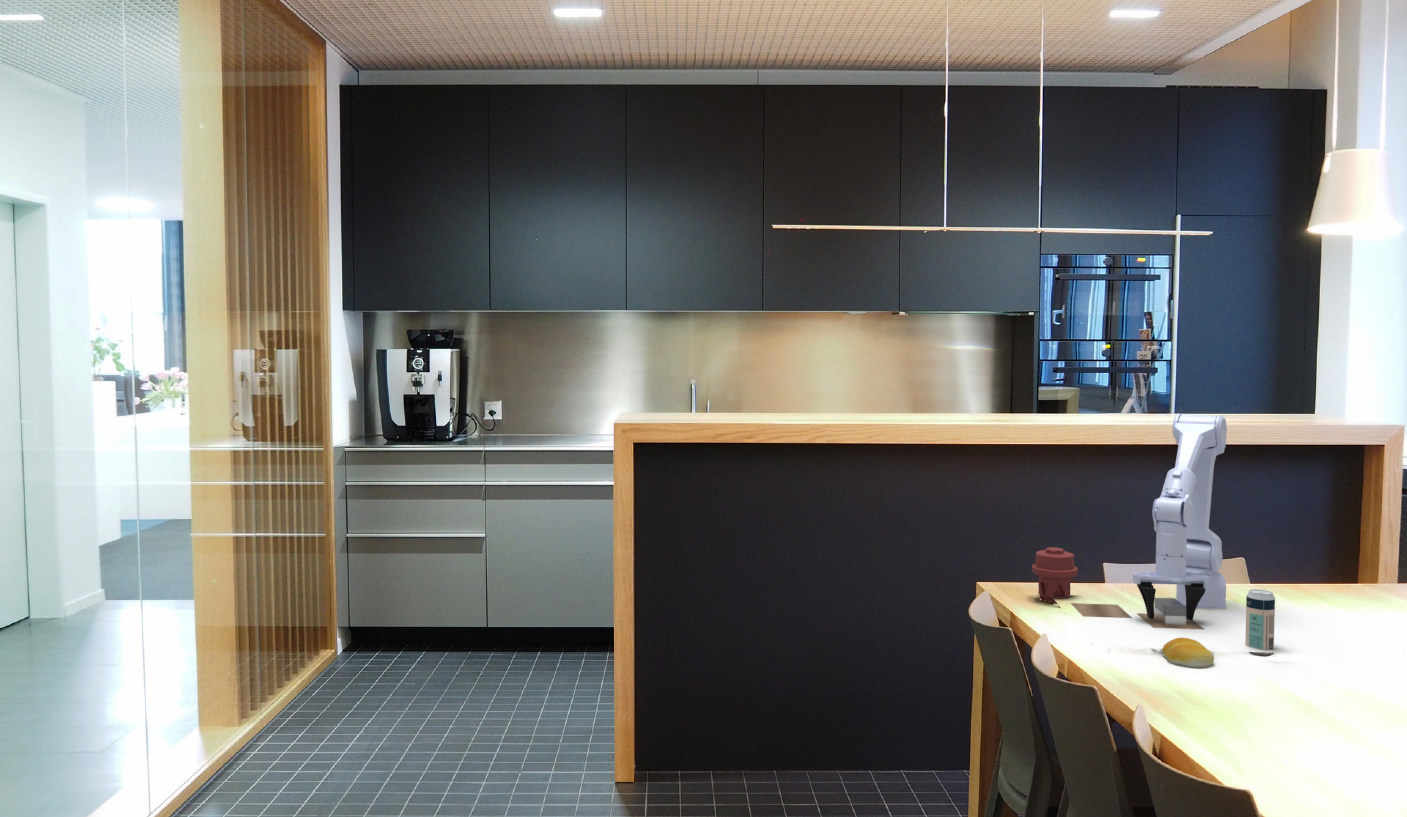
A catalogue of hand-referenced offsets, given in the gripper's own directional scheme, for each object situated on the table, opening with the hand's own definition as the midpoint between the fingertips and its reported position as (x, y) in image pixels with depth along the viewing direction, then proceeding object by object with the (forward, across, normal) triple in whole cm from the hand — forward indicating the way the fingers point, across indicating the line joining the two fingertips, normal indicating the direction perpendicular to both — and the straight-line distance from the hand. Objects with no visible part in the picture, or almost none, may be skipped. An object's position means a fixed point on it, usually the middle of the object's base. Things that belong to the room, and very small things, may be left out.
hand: (1169, 618), depth 197 cm
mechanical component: (+2, -19, +20) cm, 28 cm away
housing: (+1, 0, 0) cm, 1 cm away
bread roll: (+2, -4, -22) cm, 22 cm away
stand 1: (+2, -12, +7) cm, 14 cm away
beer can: (+2, +11, -16) cm, 20 cm away
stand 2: (+2, 0, 0) cm, 2 cm away
